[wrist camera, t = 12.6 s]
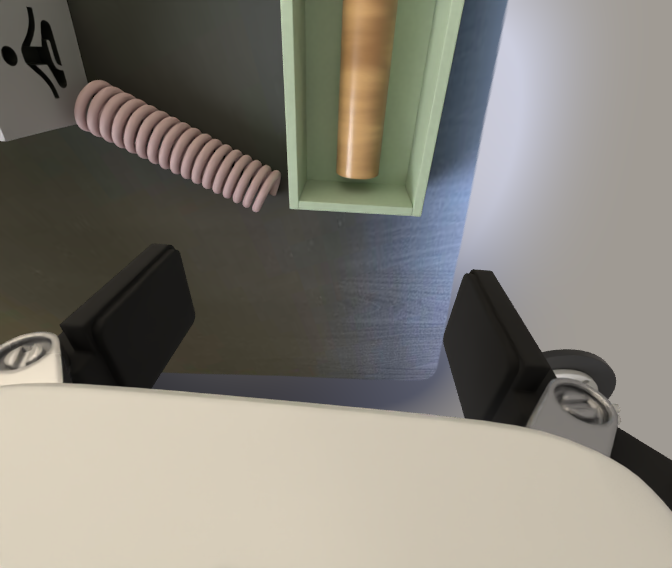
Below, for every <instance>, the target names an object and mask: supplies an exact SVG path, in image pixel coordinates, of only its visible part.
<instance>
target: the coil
mask: <svg viewBox="0 0 672 568" xmlns="http://www.w3.org/2000/svg"><path fill="white" fill-rule="evenodd" d="M97 92H98V93H97ZM95 93H97V94H96V95H95V96H94V98H93V99H92V101H91V103H90V105H89V108H88V113H87V120H86V109H87V105H88V103H89V101H90V99H91V98H92V96H93V95H94V94H95ZM108 99H109V100H108ZM120 106H121V108H120ZM131 113H132V116H131ZM74 116H75V120H76V123H77V124H78V126H79V127H80V128H81V129H83V130H84V131H89V132H91V133H92V134H93V135H95V136H97V137H103V138H104V139H105V140H106V141H107V142H111V143H115V144H116V145H117V146H118V147H120V148H126V149H127V150H128V151H129V152H131V153H137V154H138V155H139V156H140V157H141V158H143V159H147V158H148V159H149V160H150V162H152V163H154V164H158V163H159V164H160V166H161V167H162V168H164V169H169V168H170V169H171V171H172V172H173V173H175V174H180V173H181V175H182V176H183V178H185V179H190V178H191V177H192V181H193V182H194V183H196V184H200V183H201V182H202V185H203V187H204V188H206V189H209V188H211V187H212V186H213V191H214V192H215V193H217V194H219V193H221V192H222V190H223V196H224V197H225V198H230V197H231V196H232V194H233V192H234V190H235V192H234V194H233V201H234V202H235V203H239V202H240V201H241V200H242V198H243V196H244V194H245V191H246V189H247V186H248V183H249V181H250V179H251V177H252V176H253V177H252V181H251V184H250V186H249V188H248V190H247V192H246V195H245V197H244V199H243V206H244V207H246V208H248V207H250V205H251V203H252V201H253V199H254V196H255V194H256V192H257V190H258V188H259V186H260V184H261V186H260V189H259V192H258V195H257V197H256V200H255V202H254V204H253V206H252V209H253V211H254V212H259V210H260V209H261V207H262V205H263V203H264V201H265V199H266V197H267V195H268V193H269V194H271V195H273V196H276V193H277V190H278V187H279V184H280V180H281V173H280V171H278V170H274V171H272V169H271V167H270V166H268V165H264V166H263V167H262V164H261V162H260V161H259V160H254V161H253V160H252V158H251V157H250V156H249V155H244V156H243V154H242V153H241V151H239V150H233V149H232V147H231V146H229V145H227V144H224V145H223V144H222V142H221V141H220V140H218V139H212V138H211V136H210V135H208V134H202V133H201V131H200V130H198V129H197V128H191V127H190V125H188V124H187V123H184V122H180V121H179V120H178V119H177V118H175V117H170V116H169V115H168V114H167V113H166V112H164V111H159V110H158V109H157V108H155V107H154V106H152V105H147V104H146V103H145V102H144V101H142V100H140V99H136V98H135V97H134V96H132V95H131V94H129V93H124V92H123V91H122V90H121V89H119V88H117V87H113V86H112V85H110V84H109V83H107V82H105V81H102V80H95V81H92V82H90V83H88V84H87V85H86V86H85V87H84V88H83V89H82V90H81V91H80V93H79V95H78V97H77V99H76V102H75V108H74ZM142 120H143V123H142V125H141V121H142ZM99 127H100V128H99ZM153 127H154V128H153ZM152 128H153V133H152V135H151V137H150V134H151V130H152ZM111 132H112V133H111ZM163 135H164V137H163ZM123 136H124V138H123ZM149 137H150V140H149ZM162 137H163V141H162V144H161V147H160V149H159V150H158V146H159V143H160V141H161V139H162ZM194 137H195V139H194ZM135 140H136V142H135V143H134V141H135ZM148 140H149V143H148V146H147V147H146V144H147V142H148ZM204 143H205V146H204ZM172 146H173V147H172ZM171 148H172V150H171ZM214 149H215V153H214V154H213V152H214ZM157 150H158V152H157ZM170 150H171V152H170ZM169 153H170V154H169ZM224 156H225V159H224V161H223V157H224ZM222 161H223V162H222ZM234 161H235V165H234V167H233V169H232V170H231V168H232V164H233V163H234ZM243 169H244V172H243V175H242V177H241V178H240V174H241V172H242V170H243ZM239 178H240V180H239ZM238 181H239V182H238ZM237 183H238V185H237ZM236 186H237V187H236ZM235 188H236V189H235Z"/></svg>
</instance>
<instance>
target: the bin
mask: <svg viewBox="0 0 672 568" xmlns="http://www.w3.org/2000/svg"><path fill="white" fill-rule="evenodd" d="M464 2H465V0H398V7H397V16H396V25H395V34H394V42H393V51H392V60H391V69H390V77H389V86H388V95H387V104H386V113H385V121H384V130H383V139H382V148H381V157H380V165H379V174H378V176H377V177H374V178H371V179H350V178H346V177H342V176H340V175H338V174H337V173H336V159H337V133H338V107H339V82H340V56H341V30H342V4H343V0H280V3H281V25H282V47H283V70H284V92H285V114H286V136H287V159H288V181H289V203H290V209H304V210H320V211H337V212H354V213H371V214H387V215H404V216H411V215H412V216H418V217H420V216H421V213H422V208H423V203H424V198H425V193H426V188H427V183H428V179H429V174H430V169H431V164H432V159H433V154H434V149H435V144H436V139H437V134H438V129H439V124H440V120H441V115H442V110H443V105H444V100H445V95H446V90H447V85H448V80H449V75H450V70H451V65H452V61H453V56H454V51H455V46H456V41H457V36H458V31H459V26H460V21H461V16H462V11H463V6H464Z"/></svg>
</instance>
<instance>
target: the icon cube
mask: <svg viewBox="0 0 672 568" xmlns="http://www.w3.org/2000/svg"><path fill="white" fill-rule="evenodd" d="M87 84H88V82H87V78H86V74H85V70H84V66H83V62H82V59H81V55H80V51H79V47H78V43H77V39H76V35H75V31H74V27H73V23H72V20H71V16H70V12H69V8H68V4H67V0H0V141H10V140H14V139H18V138H22V137H26V136H30V135H34V134H38V133H42V132H46V131H50V130H54V129H58V128H62V127H66V126H70V125H74V124H77V123H76V120H75V116H74V108H75V102H76V99H77V97H78V95H79V93H80V91H81V90H82V89H83V88H84V87H85V86H86V85H87ZM91 101H92V98H91V99H90V101H89V103H88V105H87V109H86V120H87V113H88V108H89V105H90V103H91Z"/></svg>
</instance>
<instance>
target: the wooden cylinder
mask: <svg viewBox="0 0 672 568" xmlns="http://www.w3.org/2000/svg"><path fill="white" fill-rule="evenodd" d="M397 7H398V0H343V4H342V30H341V56H340V82H339V107H338V133H337V159H336V173H337V174H338V175H340V176H342V177H346V178H350V179H371V178H374V177H377V176H378V174H379V165H380V157H381V148H382V139H383V130H384V121H385V113H386V104H387V95H388V86H389V77H390V69H391V60H392V51H393V42H394V34H395V25H396V16H397Z"/></svg>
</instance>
